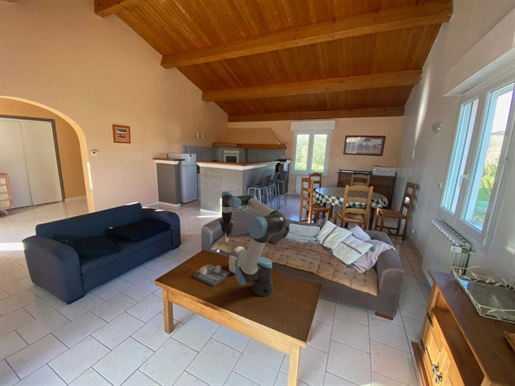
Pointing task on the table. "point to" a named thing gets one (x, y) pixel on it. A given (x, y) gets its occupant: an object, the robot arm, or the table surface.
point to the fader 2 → (217, 269)
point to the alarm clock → (236, 258)
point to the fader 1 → (203, 270)
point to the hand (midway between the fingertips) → (226, 240)
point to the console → (211, 275)
